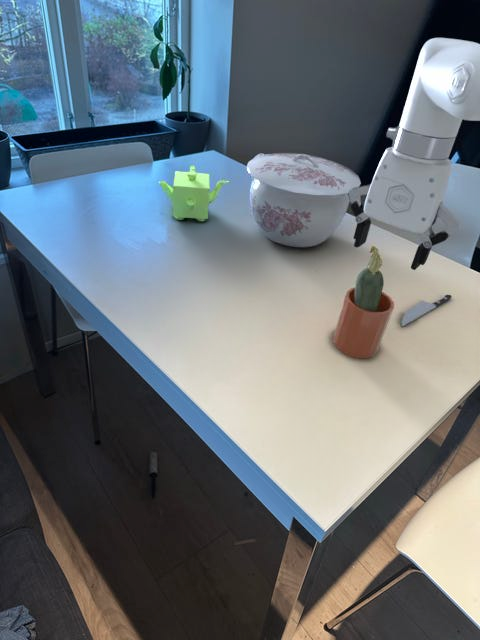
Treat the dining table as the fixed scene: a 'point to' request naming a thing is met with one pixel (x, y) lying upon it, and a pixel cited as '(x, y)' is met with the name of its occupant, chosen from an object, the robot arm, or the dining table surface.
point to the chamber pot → (299, 197)
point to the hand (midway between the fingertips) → (386, 255)
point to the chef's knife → (421, 310)
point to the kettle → (191, 194)
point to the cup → (362, 326)
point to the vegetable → (370, 284)
